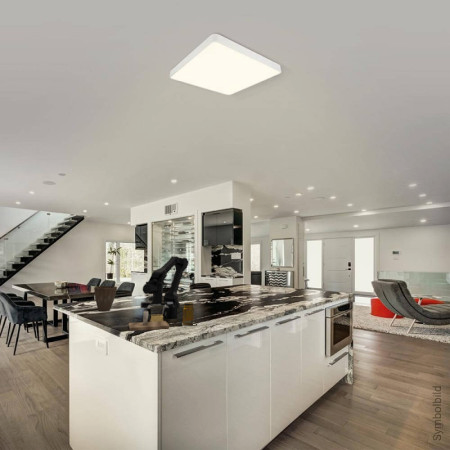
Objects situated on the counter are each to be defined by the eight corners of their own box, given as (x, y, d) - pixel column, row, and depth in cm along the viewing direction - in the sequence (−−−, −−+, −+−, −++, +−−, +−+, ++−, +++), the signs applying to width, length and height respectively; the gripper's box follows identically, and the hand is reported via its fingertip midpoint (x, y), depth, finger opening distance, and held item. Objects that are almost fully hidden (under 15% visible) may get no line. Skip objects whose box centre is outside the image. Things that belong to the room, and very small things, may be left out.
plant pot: (93, 308, 210) (95, 285, 212) (116, 308, 215) (117, 285, 217) (91, 312, 196) (92, 288, 198) (115, 312, 201) (116, 288, 202)
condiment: (182, 323, 173) (183, 302, 175) (196, 323, 174) (197, 302, 176) (181, 326, 166) (182, 304, 168) (196, 326, 167) (197, 304, 168)
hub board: (165, 323, 170) (165, 308, 171) (169, 328, 159) (169, 312, 160) (128, 325, 163) (129, 309, 164) (130, 330, 152) (131, 313, 153)
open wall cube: (160, 320, 180) (161, 314, 180) (162, 322, 173) (163, 316, 174) (149, 320, 177) (150, 314, 178) (151, 323, 171) (151, 316, 171)
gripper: (170, 290, 188) (169, 316, 186) (140, 291, 181) (138, 317, 180) (174, 292, 178) (173, 319, 176) (142, 293, 171) (140, 321, 169)
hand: (156, 319), depth 175 cm, fingers closed on open wall cube, 7 cm apart
